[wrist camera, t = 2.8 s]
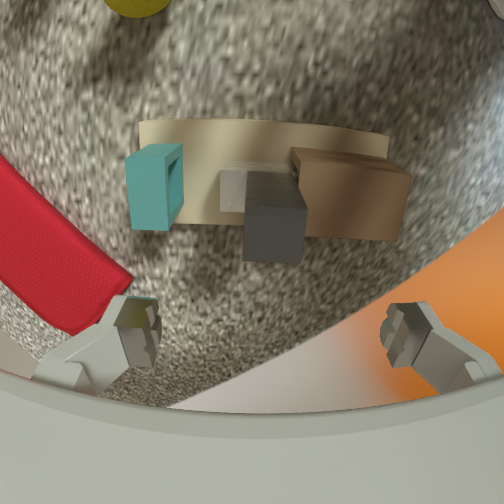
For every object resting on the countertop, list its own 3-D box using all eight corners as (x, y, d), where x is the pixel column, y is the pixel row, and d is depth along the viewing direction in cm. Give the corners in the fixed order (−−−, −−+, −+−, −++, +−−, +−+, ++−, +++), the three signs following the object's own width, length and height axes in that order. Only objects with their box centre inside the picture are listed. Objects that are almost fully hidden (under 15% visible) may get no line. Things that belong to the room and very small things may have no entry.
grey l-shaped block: (382, 173, 23) (441, 221, 15) (375, 207, 24) (427, 267, 16) (224, 160, 23) (206, 204, 14) (223, 197, 24) (207, 259, 16)
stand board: (383, 134, 24) (389, 136, 22) (366, 226, 28) (371, 232, 27) (144, 120, 23) (138, 122, 22) (150, 215, 28) (145, 222, 27)
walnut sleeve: (383, 157, 23) (411, 175, 19) (373, 213, 26) (396, 241, 21) (290, 146, 23) (300, 161, 19) (285, 207, 26) (292, 235, 21)
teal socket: (182, 143, 23) (164, 157, 18) (184, 203, 26) (168, 230, 21) (149, 144, 23) (124, 158, 18) (153, 202, 26) (131, 229, 21)
